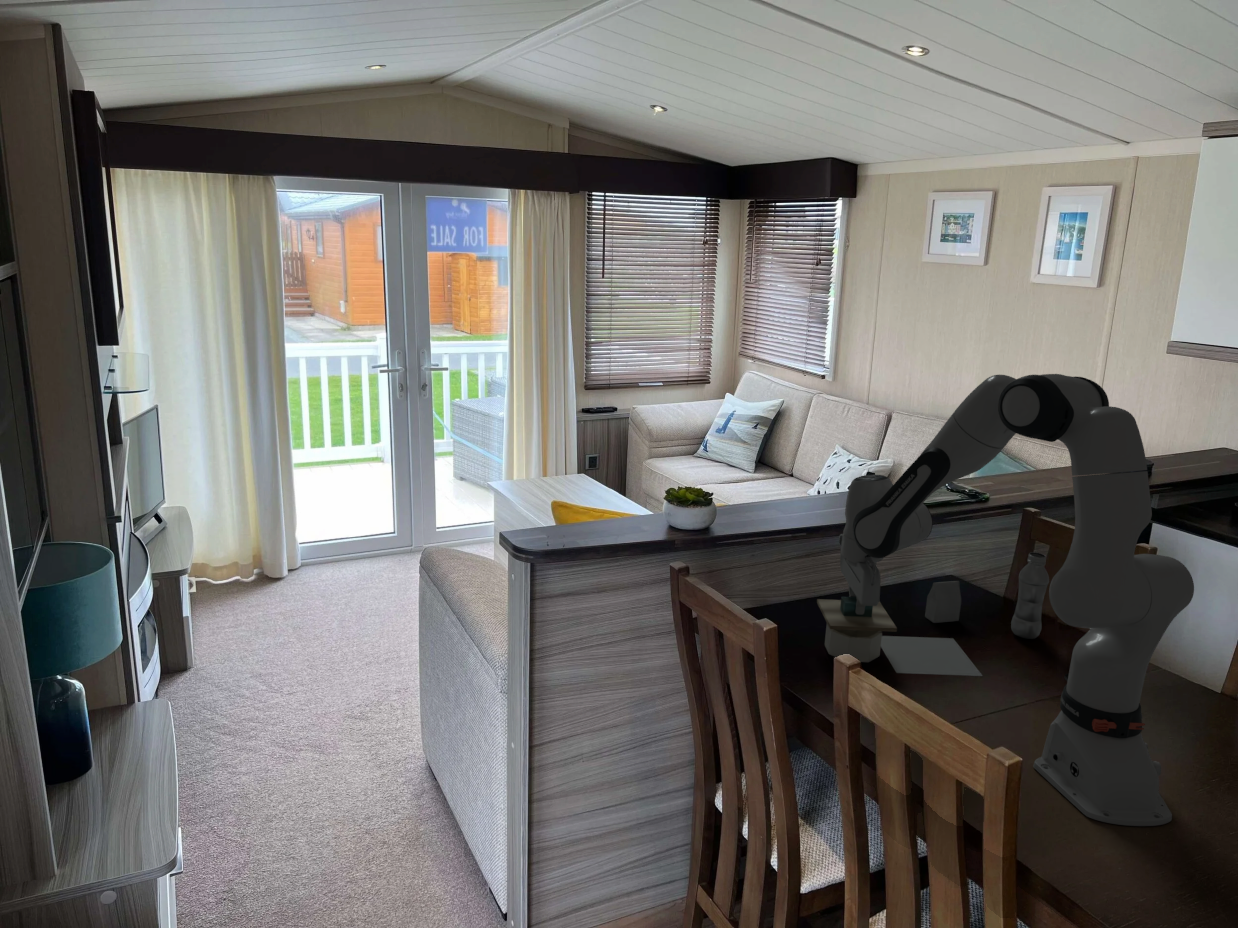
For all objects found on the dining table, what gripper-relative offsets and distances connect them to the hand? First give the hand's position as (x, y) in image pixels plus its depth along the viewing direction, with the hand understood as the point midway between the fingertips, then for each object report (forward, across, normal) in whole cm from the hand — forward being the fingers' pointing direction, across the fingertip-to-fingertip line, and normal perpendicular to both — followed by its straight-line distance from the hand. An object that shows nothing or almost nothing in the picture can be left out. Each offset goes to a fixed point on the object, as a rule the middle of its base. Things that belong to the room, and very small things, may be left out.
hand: (856, 608), depth 197 cm
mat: (+10, -1, -16) cm, 19 cm away
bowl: (+10, 0, 0) cm, 10 cm away
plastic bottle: (+11, +12, -43) cm, 46 cm away
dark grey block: (+11, +19, -26) cm, 34 cm away
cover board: (+2, 0, 0) cm, 2 cm away
